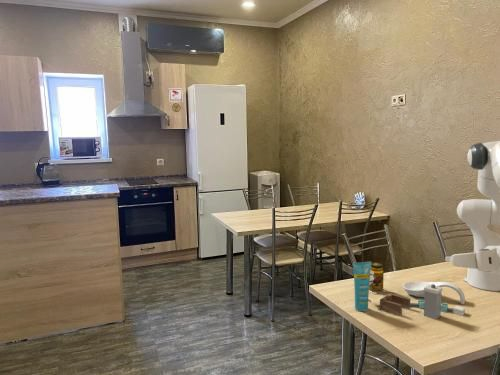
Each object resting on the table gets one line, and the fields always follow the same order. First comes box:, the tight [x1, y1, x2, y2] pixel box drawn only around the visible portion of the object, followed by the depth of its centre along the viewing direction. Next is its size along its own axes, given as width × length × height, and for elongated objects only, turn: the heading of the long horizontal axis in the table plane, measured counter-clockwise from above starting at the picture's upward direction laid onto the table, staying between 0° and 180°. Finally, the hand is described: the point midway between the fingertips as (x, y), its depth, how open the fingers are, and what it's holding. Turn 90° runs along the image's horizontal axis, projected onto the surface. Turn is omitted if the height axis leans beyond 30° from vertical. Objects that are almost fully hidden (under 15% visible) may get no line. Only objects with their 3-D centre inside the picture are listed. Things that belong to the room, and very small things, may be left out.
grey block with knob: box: [423, 284, 443, 320], centre depth 141 cm, size 5×5×12 cm
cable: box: [410, 302, 466, 317], centre depth 147 cm, size 4×22×2 cm, turn 64°
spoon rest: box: [402, 280, 466, 305], centre depth 159 cm, size 24×12×7 cm, turn 57°
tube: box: [352, 260, 372, 312], centre depth 148 cm, size 7×5×19 cm, turn 103°
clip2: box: [417, 299, 424, 310], centre depth 150 cm, size 2×4×2 cm, turn 168°
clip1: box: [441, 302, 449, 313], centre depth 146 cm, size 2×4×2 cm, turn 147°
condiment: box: [369, 262, 388, 295], centre depth 168 cm, size 7×8×12 cm
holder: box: [379, 292, 411, 316], centre depth 148 cm, size 9×8×4 cm
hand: (454, 258), depth 134 cm, fingers open, 8 cm apart
